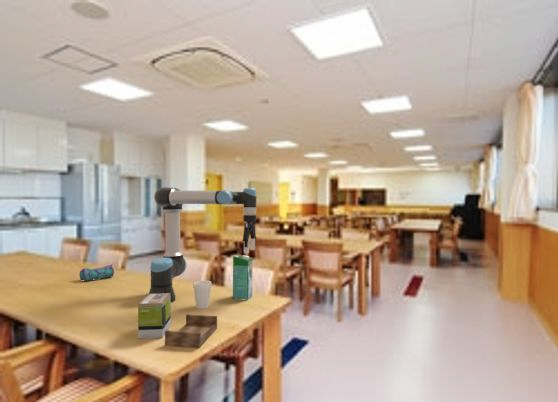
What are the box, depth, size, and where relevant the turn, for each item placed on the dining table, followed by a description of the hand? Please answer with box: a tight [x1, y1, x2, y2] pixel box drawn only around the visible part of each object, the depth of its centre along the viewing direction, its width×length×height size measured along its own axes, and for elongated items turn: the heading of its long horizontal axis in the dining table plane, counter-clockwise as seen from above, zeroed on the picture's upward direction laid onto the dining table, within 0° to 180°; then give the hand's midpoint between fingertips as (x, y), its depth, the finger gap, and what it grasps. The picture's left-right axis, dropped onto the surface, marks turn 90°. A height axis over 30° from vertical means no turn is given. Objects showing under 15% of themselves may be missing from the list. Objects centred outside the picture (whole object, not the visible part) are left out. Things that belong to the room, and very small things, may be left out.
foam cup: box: [192, 279, 212, 310], centre depth 177 cm, size 10×9×13 cm
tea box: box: [137, 293, 172, 339], centre depth 143 cm, size 15×10×15 cm
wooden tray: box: [164, 313, 218, 349], centre depth 138 cm, size 14×20×6 cm
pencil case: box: [78, 264, 115, 282], centre depth 240 cm, size 21×9×10 cm, turn 140°
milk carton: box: [232, 253, 253, 301], centre depth 195 cm, size 9×9×25 cm
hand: (249, 251), depth 193 cm, fingers open, 13 cm apart
